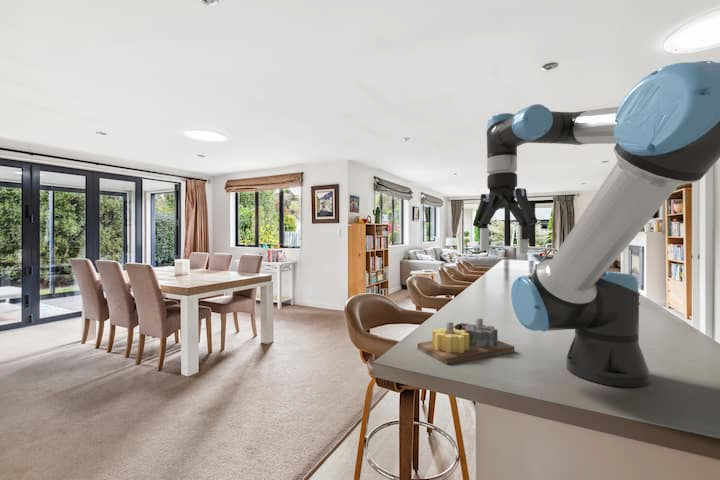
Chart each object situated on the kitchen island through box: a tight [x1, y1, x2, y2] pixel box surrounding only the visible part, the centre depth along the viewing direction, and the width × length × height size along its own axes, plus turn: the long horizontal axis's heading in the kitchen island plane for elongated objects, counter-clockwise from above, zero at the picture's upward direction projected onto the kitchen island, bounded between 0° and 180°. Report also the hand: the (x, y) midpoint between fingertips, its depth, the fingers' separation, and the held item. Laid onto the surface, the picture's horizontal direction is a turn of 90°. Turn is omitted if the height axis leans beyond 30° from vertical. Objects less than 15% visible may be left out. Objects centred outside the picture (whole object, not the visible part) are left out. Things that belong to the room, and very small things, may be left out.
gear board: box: [417, 317, 515, 365], centre depth 94 cm, size 13×22×8 cm, turn 113°
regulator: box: [453, 322, 468, 330], centre depth 108 cm, size 8×4×15 cm
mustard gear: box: [432, 327, 469, 353], centre depth 92 cm, size 9×9×4 cm
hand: (502, 251), depth 94 cm, fingers open, 13 cm apart
